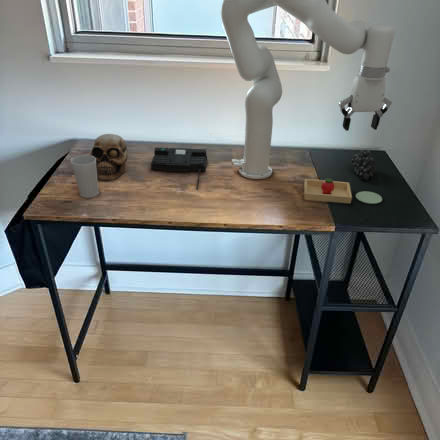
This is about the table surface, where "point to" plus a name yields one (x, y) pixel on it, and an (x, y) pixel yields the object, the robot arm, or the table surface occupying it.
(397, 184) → the table surface
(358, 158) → the fruit
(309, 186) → the tray
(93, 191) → the cup
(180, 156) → the electronic device
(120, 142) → the brown skull
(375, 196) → the coaster
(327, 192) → the strawberry
